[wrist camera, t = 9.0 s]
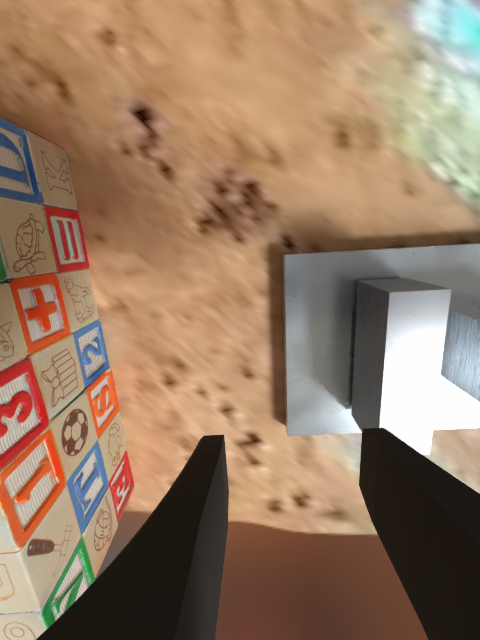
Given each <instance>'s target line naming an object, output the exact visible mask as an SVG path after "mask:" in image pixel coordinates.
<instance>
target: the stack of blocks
mask: <svg viewBox="0 0 480 640" xmlns="http://www.w3.org/2000/svg"><path fill="white" fill-rule="evenodd" d="M126 449H127V443H126V439H125V433H124V429H123V424H122V419H121V415H120V412H119V405H118V400H117V395H116V390H115V384H114V380H113V375H112V370H111V368H110V367H109V361H108V356H107V352H106V347H105V342H104V338H103V333H102V328H101V323H100V321H99V316H98V310H97V306H96V301H95V297H94V292H93V287H92V282H91V278H90V273H89V262H88V257H87V252H86V247H85V243H84V238H83V233H82V228H81V223H80V219H79V214H78V207H77V201H76V196H75V191H74V186H73V181H72V177H71V172H70V167H69V162H68V157H67V153H66V151H65V150H64V149H63V148H61V147H59V146H57V145H55V144H53V143H51V142H49V141H47V140H45V139H44V138H42V137H39V136H38V135H36V134H34V133H32V132H29V131H27V130H23V129H21V128H20V127H18V126H16V125H14V124H13V123H11V122H9V121H7V120H5V119H3V118H1V117H0V640H36V639H37V638H38V637H39V636H40V635H41V634H42V633H43V632H44V631H45V630H46V629H47V628H49V627H50V626H51V625H52V624H53V623H54V622H55V621H56V620H57V619H58V618H59V617H60V616H61V615H62V614H63V613H64V612H65V611H66V610H67V609H68V608H69V607H70V606H71V605H72V604H73V603H74V602H75V601H76V600H77V599H78V598H79V597H80V596H81V595H82V594H83V593H84V592H85V590H86V589H87V588H88V587H89V586H90V585H91V584H92V583H93V582H94V581H95V577H96V575H97V573H98V571H99V569H100V566H101V564H102V562H103V559H104V557H105V555H106V553H107V550H108V548H109V545H110V543H111V541H112V539H113V536H114V534H115V532H116V529H117V527H118V522H119V520H120V518H121V516H122V514H123V511H124V509H125V507H126V505H127V503H128V500H129V498H130V495H131V493H132V490H133V488H134V481H133V477H132V472H131V468H130V464H129V459H128V455H127V451H126Z"/></svg>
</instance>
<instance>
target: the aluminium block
mask: <svg viewBox="0 0 480 640" xmlns="http://www.w3.org/2000/svg"><path fill="white" fill-rule="evenodd" d="M444 378H445V379H446V380H447V381H449V382H450V383H452V384H453V385H455V386H456V387H457V388H459V389H460V390H462V391H463V392H465V393H466V394H468V395H469V396H470V397H472V398H473V399H475V400H476V401H478V402H479V403H480V310H466V311H453V312H452V319H451V327H450V334H449V341H448V349H447V356H446V363H445V371H444Z"/></svg>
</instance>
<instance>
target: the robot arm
mask: <svg viewBox="0 0 480 640" xmlns="http://www.w3.org/2000/svg"><path fill="white" fill-rule="evenodd" d="M359 486H360V489H361V492H362V495H363V498H364V501H365V504H366V506H367V509H368V512H369V514H370V517H371V520H372V522H373V525H374V527H375V529H376V531H377V533H378V535H379V537H380V539H381V541H382V543H383V545H384V547H385V550H386V552H387V554H388V556H389V558H390V560H391V562H392V564H393V566H394V568H395V570H396V572H397V574H398V576H399V578H400V580H401V582H402V585H403V587H404V589H405V591H406V593H407V594H408V597H409V599H410V601H411V603H412V605H413V607H414V609H415V611H416V613H417V615H418V617H419V619H420V621H421V624H422V626H423V628H424V630H425V633H426V635H427V637H428V639H429V640H480V494H479V493H478V492H476V491H474V490H473V489H471V488H470V487H468V486H467V485H465V484H464V483H462V482H461V481H459V480H458V479H456V478H455V477H453V476H452V475H451V474H449V473H448V472H446V471H445V470H443V469H442V468H440V467H439V466H437V465H436V464H435V463H433V462H432V461H430V460H429V459H427V458H426V457H425V456H423V455H422V454H420V453H419V452H418V451H416V450H415V449H413V448H412V447H411V446H409V445H408V444H406V443H405V442H404V441H402V440H401V439H399V438H398V437H397V436H395V435H394V434H392V433H391V432H389V431H388V430H386V429H385V428H364V429H362V445H361V461H360V478H359ZM228 496H229V489H228V477H227V465H226V453H225V441H224V435H210V436H203V437H202V438H201V439H200V441H199V443H198V445H197V447H196V448H195V450H194V452H193V454H192V455H191V457H190V459H189V460H188V462H187V463H186V465H185V467H184V468H183V470H182V471H181V473H180V474H179V476H178V477H177V479H176V480H175V482H174V483H173V485H172V486H171V488H170V489H169V491H168V492H167V494H166V495H165V496H164V498H163V499H162V501H161V502H160V503H159V505H158V506H157V507H156V509H155V510H154V511H153V513H152V514H151V515H150V517H149V518H148V519H147V521H146V522H145V523H144V525H143V526H142V527H141V528H140V530H139V531H138V532H137V533H136V534H135V536H134V537H133V538H132V539H131V540H130V542H129V543H128V544H127V545H126V547H125V548H124V549H123V550H122V551H121V552H120V553H119V555H118V556H117V557H116V558H115V559H114V560H113V561H112V563H111V564H110V565H109V566H108V567H107V568H106V569H105V570H104V571H103V572H102V573H101V574H100V576H99V577H98V578H97V579H96V580H95V581H94V582H93V583H92V584H91V585H90V586H89V587H88V588H87V589H86V590H85V592H84V593H83V594H82V595H81V596H80V597H79V598H78V599H77V600H76V601H75V602H74V603H73V604H72V605H71V606H70V607H69V608H68V609H67V610H66V611H65V612H64V613H63V614H62V615H61V616H60V617H59V618H58V619H57V620H56V621H55V622H54V623H53V624H52V625H51V626H50V627H49V628H47V629H46V630H45V631H44V632H43V633H42V634H41V635H40V636H39V637H38V638H37V639H36V640H215V633H216V623H217V615H218V607H219V598H220V590H221V581H222V573H223V564H224V556H225V546H226V538H227V529H228Z"/></svg>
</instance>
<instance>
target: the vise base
mask: <svg viewBox="0 0 480 640" xmlns="http://www.w3.org/2000/svg"><path fill="white" fill-rule="evenodd" d="M282 276H283V327H284V379H285V427H286V431H287V435H288V436H301V435H323V434H345V433H362V431H361V430H360V428H359V427H358V425H357V423H356V422H355V420H354V418H353V417H352V415H351V410H352V389H353V368H354V347H355V326H356V305H357V284H358V281H360V280H377V279H395V278H408V279H413V280H417V281H421V282H425V283H429V284H433V285H437V286H441V287H445V288H449V289H452V290H451V297H450V305H449V312H448V320H447V327H446V335H445V342H444V350H443V357H442V365H441V372H440V380H439V387H438V395H437V402H436V410H435V417H434V425H433V430H434V429H456V428H478V427H480V403H479V402H478V401H476V400H475V399H473V398H472V397H470V396H469V395H468V394H466V393H465V392H463V391H462V390H460V389H459V388H457V387H456V386H455V385H453V384H452V383H450V382H449V381H447V380H446V379H445V378H444V371H445V363H446V356H447V349H448V341H449V334H450V327H451V319H452V312H453V311H466V310H480V243H465V244H448V245H431V246H414V247H397V248H380V249H362V250H345V251H328V252H311V253H294V254H282Z"/></svg>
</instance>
